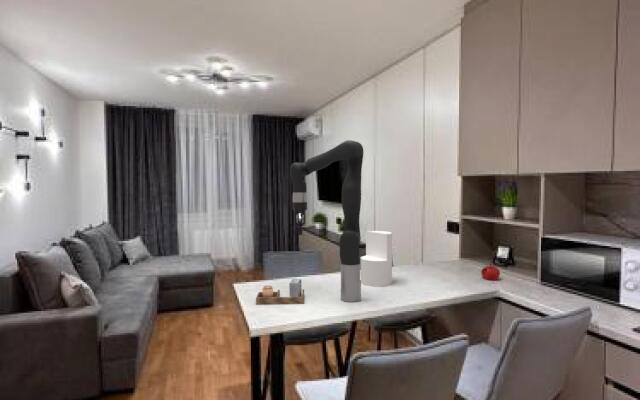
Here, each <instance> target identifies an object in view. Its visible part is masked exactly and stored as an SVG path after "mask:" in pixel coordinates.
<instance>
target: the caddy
mask: <svg viewBox="0 0 640 400" xmlns="http://www.w3.org/2000/svg"><path fill="white" fill-rule="evenodd" d="M280 291H281V290H280V289H277V291H273V297H263V295H262V291H259V292H257V295H256V297H255V305H256V306H258V305H259V306H261V305H265V306H266V305H268V306H269V305H304V304H305V288H302V295H301V297H290V296H281V293H280Z"/></svg>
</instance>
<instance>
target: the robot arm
mask: <svg viewBox="0 0 640 400" xmlns="http://www.w3.org/2000/svg"><path fill="white" fill-rule="evenodd" d="M344 160H347V173H346V175H345V178H344V181H343V183H342V187H341V207H342V212H343V217H344V218H343V220H344V221H343V231H342V233H341V235H340V236H339V259H340V300H341V301H343V302H347V303H355V302H360V301H362V283H361V256H360V243H361V239H362V237H361V228H360V227H361V225H360V215H361V205H362V168H363V167H362V166H363V162H364V147H363V145H362V143H361V142H359V141H356V140H355V141H354V140H350V139H349V140H344V141H343V142H341V143H340V144H338V145H336V146H334V147H333V148H331V149H329V150H327V151H325V152H322V153H321V154H318V155H315V156H311V157H310V158H308V159H306V161H305V162H293V163H292V164H291V165H290V168H289V174H290V178H291V183H292V210H293V211H294V212H296V211H297V213H296V214H295V215H296V217H295V218H296V223H297V235H299V236H300V235H301V236H302V235H303V228H304V217H305V214H304V213H303V212H304V211H307V210H308V195H307V194H308V193H307V189H308V188H307V186H308V185H307V181H304V180H303V177H306V176H309V175H311V174H313V173H315V172H317V171H319V170H323V169H324V168H326V167H328V166H330V165H331V164H333V163H335V162H338V161H344Z"/></svg>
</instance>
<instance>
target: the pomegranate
mask: <svg viewBox="0 0 640 400" xmlns="http://www.w3.org/2000/svg"><path fill="white" fill-rule="evenodd" d="M480 274H481V277H482V278H483V279H485V280H486V281H487V280H488V281H497V280H498V279H499V278H500V275H501V271H500V269H499V267H497V266H496V265H495V264H494V265H492V262H490V263H489V265H488V264H486V265H484V266H483V268H482V269H481V271H480Z"/></svg>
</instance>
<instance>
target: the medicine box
mask: <svg viewBox="0 0 640 400" xmlns="http://www.w3.org/2000/svg"><path fill="white" fill-rule="evenodd" d="M302 292H303V288H302V279H301V278H292V279H291V281H290V282H289V297H302Z"/></svg>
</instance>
